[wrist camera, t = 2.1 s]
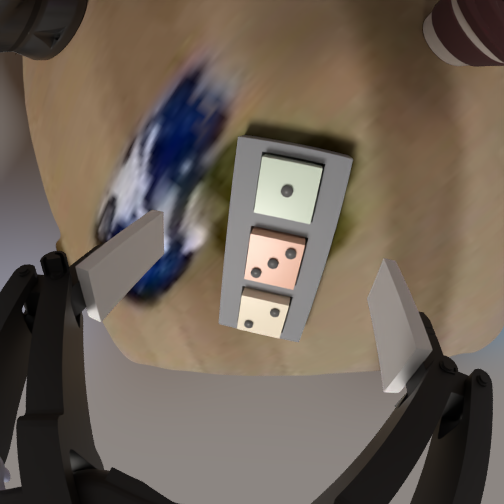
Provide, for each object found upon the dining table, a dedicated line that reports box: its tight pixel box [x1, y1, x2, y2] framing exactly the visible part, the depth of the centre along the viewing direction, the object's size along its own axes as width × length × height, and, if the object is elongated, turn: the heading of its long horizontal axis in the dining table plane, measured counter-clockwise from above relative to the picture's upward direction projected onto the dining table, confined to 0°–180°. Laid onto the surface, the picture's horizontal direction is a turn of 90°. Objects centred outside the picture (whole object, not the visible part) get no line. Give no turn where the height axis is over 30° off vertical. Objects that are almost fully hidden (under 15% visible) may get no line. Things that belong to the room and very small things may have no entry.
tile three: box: [244, 226, 305, 290], centre depth 32 cm, size 6×6×3 cm
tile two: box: [237, 287, 290, 338], centre depth 36 cm, size 6×6×3 cm
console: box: [219, 135, 353, 342], centre depth 34 cm, size 12×26×3 cm, turn 172°
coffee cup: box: [423, 0, 504, 66], centre depth 11 cm, size 10×10×15 cm
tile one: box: [254, 153, 323, 224], centre depth 28 cm, size 6×6×3 cm
